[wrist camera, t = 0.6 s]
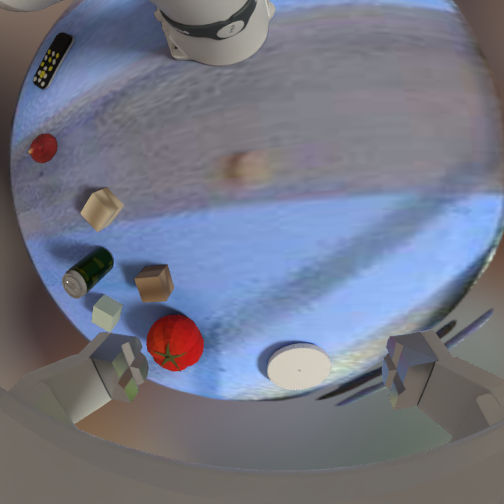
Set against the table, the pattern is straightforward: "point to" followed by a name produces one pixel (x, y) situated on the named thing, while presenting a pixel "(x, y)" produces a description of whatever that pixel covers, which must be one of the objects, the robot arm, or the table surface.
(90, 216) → the beech block
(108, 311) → the sage painted block
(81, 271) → the beer can
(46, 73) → the remote control
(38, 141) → the onion
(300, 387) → the plastic lid
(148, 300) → the walnut block
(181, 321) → the tomato
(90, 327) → the table surface
